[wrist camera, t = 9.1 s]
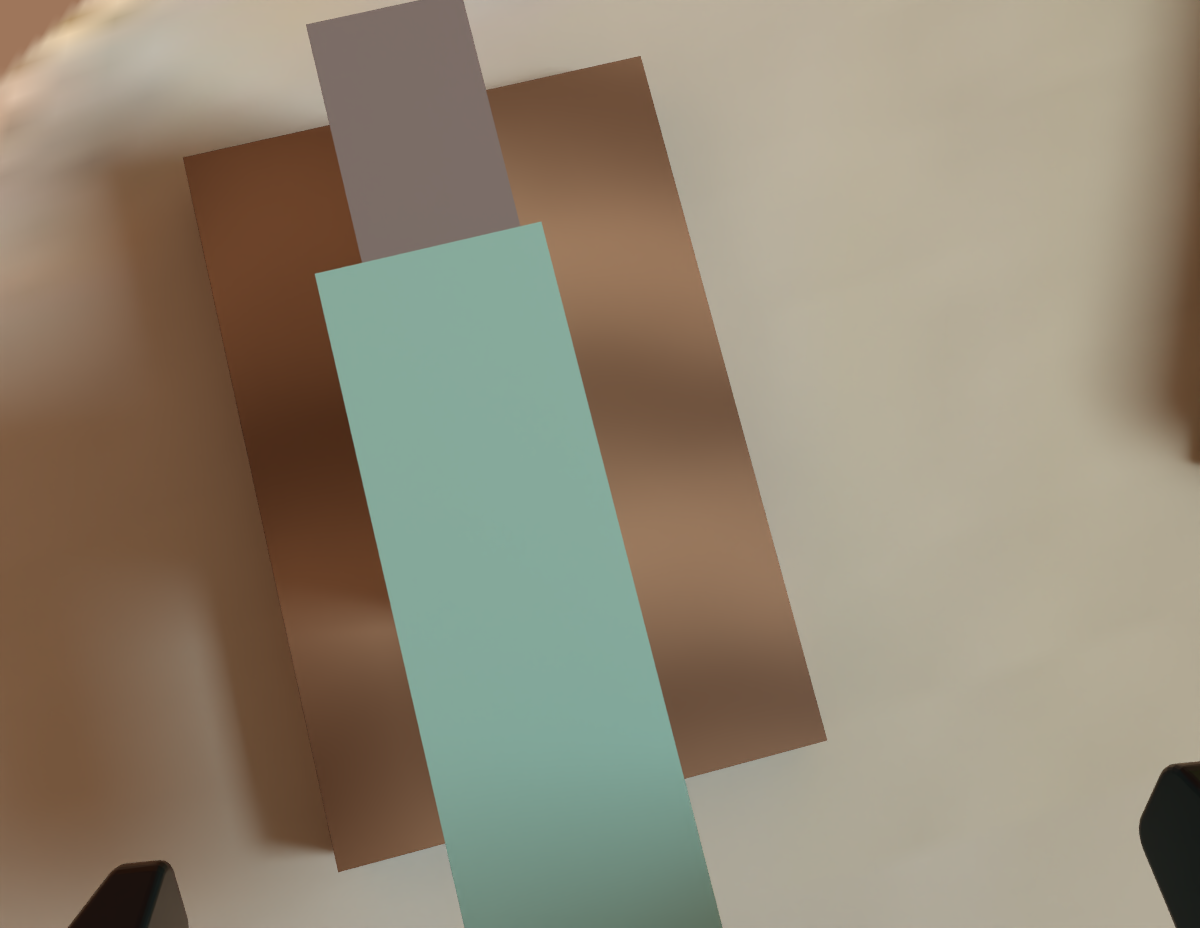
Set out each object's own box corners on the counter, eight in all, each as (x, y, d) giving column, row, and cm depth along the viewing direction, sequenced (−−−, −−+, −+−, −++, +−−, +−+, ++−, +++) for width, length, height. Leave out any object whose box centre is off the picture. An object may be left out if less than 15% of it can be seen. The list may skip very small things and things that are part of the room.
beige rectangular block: (599, 592, 22) (613, 589, 16) (476, 623, 22) (448, 631, 16) (484, 136, 23) (460, -10, 18) (367, 162, 23) (305, 24, 17)
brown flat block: (810, 731, 23) (827, 739, 22) (353, 853, 22) (338, 871, 21) (635, 88, 25) (640, 56, 23) (206, 184, 24) (183, 157, 23)
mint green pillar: (714, 994, 15) (785, 1176, 11) (545, 1042, 15) (537, 1248, 10) (546, 333, 17) (541, 221, 12) (387, 370, 16) (314, 273, 12)
